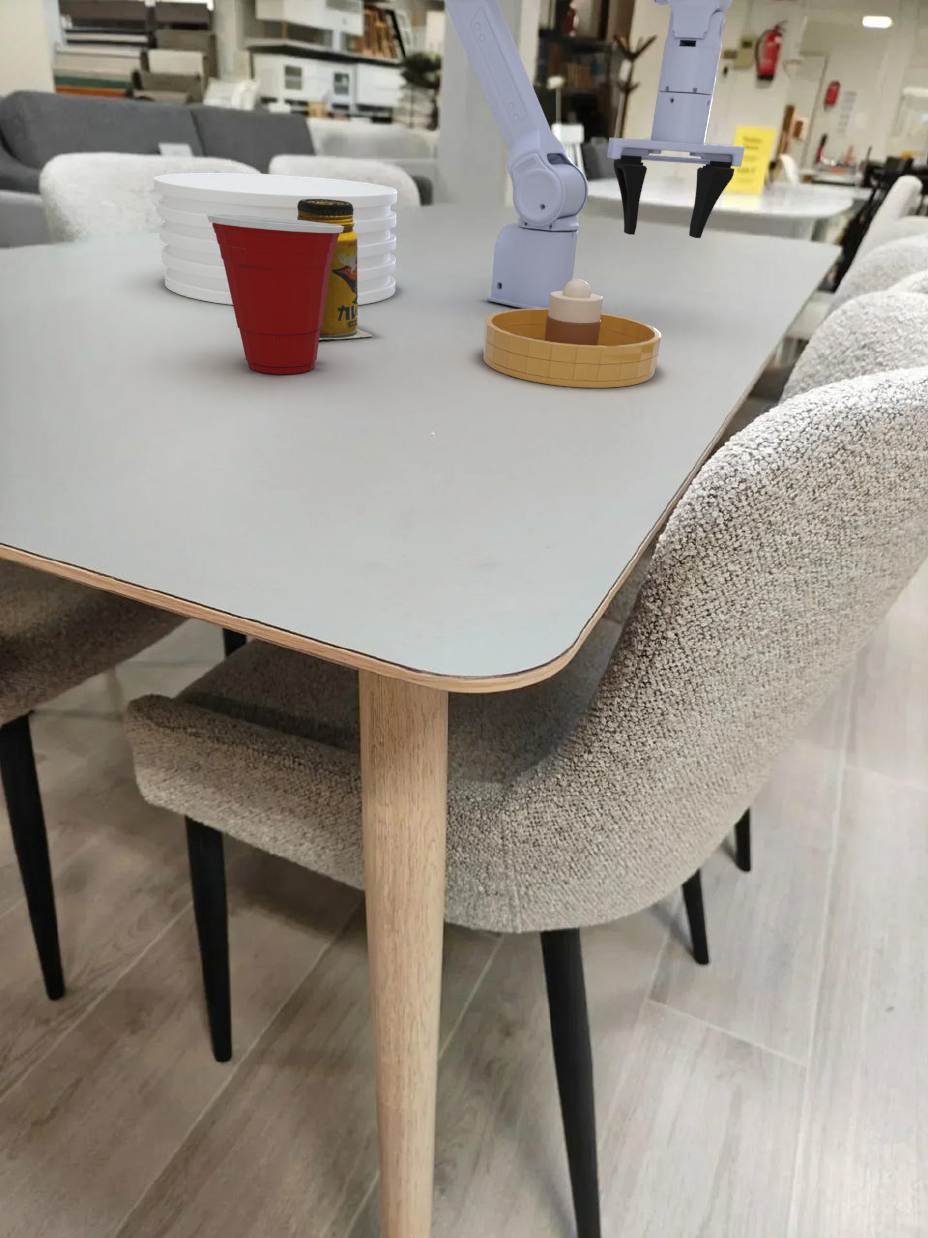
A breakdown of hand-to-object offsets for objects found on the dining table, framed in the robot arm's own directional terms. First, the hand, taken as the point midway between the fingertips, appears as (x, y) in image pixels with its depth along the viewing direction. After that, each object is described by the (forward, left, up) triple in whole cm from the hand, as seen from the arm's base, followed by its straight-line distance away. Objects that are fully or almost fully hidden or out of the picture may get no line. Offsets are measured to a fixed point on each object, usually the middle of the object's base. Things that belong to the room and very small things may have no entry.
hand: (662, 235), depth 97 cm
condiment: (-17, -36, -10) cm, 41 cm away
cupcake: (+6, -25, -9) cm, 27 cm away
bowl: (+6, -25, -9) cm, 27 cm away
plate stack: (-39, -23, -10) cm, 46 cm away
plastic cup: (-9, -47, -10) cm, 49 cm away
